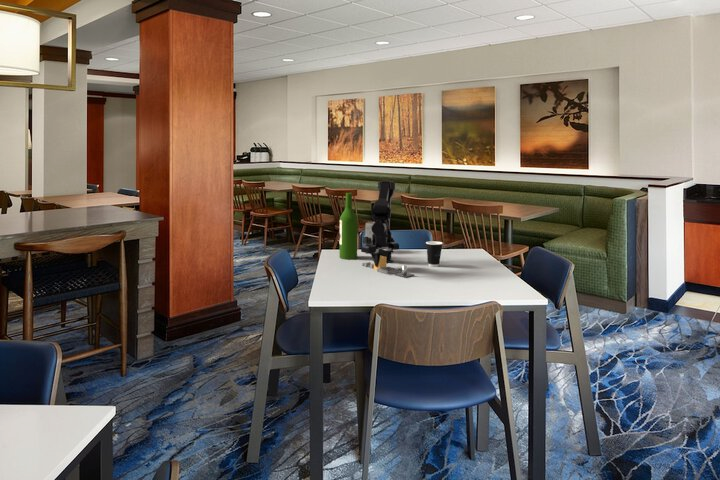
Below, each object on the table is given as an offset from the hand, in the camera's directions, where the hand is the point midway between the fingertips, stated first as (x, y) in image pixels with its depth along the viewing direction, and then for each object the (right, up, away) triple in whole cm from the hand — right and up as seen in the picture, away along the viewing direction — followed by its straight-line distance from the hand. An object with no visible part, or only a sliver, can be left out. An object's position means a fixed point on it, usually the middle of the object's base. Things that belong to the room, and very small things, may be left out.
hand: (380, 266), depth 235 cm
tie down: (0, -2, 0) cm, 2 cm away
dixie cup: (+26, 0, +10) cm, 28 cm away
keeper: (+10, -4, -11) cm, 15 cm away
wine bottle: (-15, +3, +26) cm, 30 cm away
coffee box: (-3, +5, +42) cm, 43 cm away
